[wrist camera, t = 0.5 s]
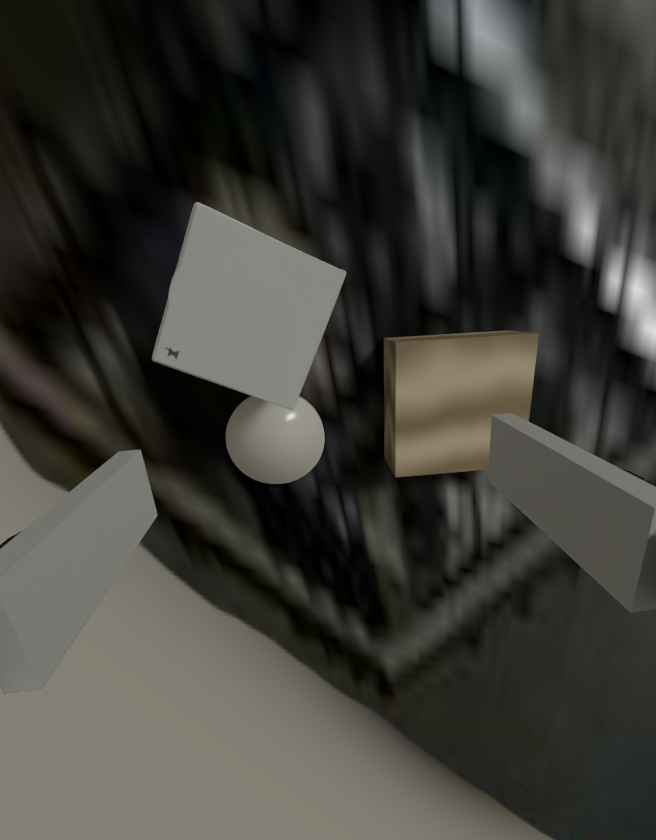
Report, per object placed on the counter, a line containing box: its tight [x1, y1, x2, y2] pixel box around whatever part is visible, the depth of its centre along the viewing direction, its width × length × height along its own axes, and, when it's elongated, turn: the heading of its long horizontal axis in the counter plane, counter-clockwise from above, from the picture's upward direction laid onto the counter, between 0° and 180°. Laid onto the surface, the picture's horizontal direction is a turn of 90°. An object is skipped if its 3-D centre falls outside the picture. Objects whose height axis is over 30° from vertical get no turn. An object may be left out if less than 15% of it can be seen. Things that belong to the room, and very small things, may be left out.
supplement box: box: [152, 202, 346, 410], centre depth 27 cm, size 9×9×15 cm
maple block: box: [384, 331, 539, 477], centre depth 36 cm, size 13×13×5 cm
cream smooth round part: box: [226, 395, 325, 484], centre depth 37 cm, size 10×10×1 cm
